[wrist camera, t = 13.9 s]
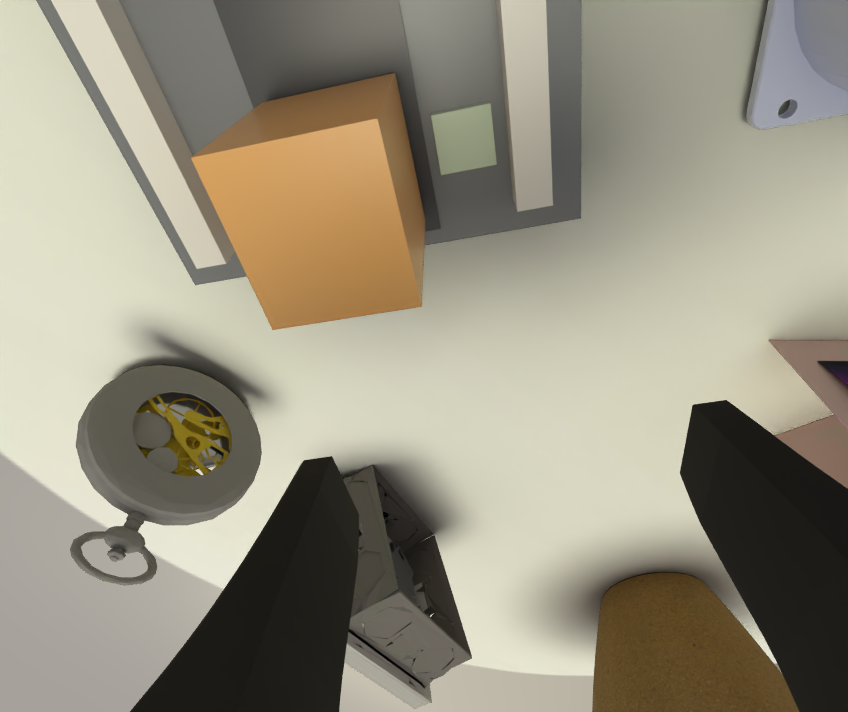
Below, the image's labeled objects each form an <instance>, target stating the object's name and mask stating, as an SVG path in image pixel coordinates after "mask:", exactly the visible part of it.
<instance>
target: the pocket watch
mask: <svg viewBox="0 0 848 712" xmlns="http://www.w3.org/2000/svg"><path fill="white" fill-rule="evenodd" d="M76 448H77V452H78V455H79V459H80V463H81V467H82V469H83V471H84V473H85V474H86V476H87V478H88V479H89V481H90V483H91V484H92V486H93V488H94V489H95V490H96V491H97V492H98V493H99V494H101V495H102V496H103V497H104V498H105V499H106V500H107V501H108V502H109V503H110V504H111V505H113V506H114V507H116V508H118V509H120V510H121V511H123V512H125V513H127V514H129V515H128V517H127V521H126V522H125V524H124V526H115V527H111V528H109V529H108V530H107V531H105V532H89V533H85V534H83V535H82V536H80V537H78V538H76V539H74V541H73V543H72V546H71V548H70V551H71V556H72V558H73V559H74V560H75V562H76V563H77V564H78V566H79V567H80V568H81V569H82V570H84V571H85V572H86V573H88V574H90V575H92V576H94V577H96V578H98V579H100V580H102V581H106V582H110V583H116V584H120V585H133V584H141V583H144V582H146V581H148V580H150V579H152V578H153V576H154V575H155V574H156V570H157V564H156V559H155V557H154V556H153V555H152V554H151V553H150V552H149V551H148V550H147V549H146V547H145V546H144V545H145V540H144V538H143V537H142V535H141V534H140V533H138V530H139V528H140V525H142V524H143V523H144V520H145V521H149V522H153V523H157V524H160V525H190V524H194V523H199V522H203V521H207V520H211V519H214V518H215V517H217V516H218V515H220V514H221V513H223V512H224V511H226V510H227V509H229V508H231V507H232V506H234V505H235V504H236V503H237V502H238V501H239V500H240V499H241V498H242V497H243V496H244V494H245V493H246V491H247V490H248V488H249V487H250V485H251V484H252V483H253V481H254V479H255V476H256V473H257V470H258V468H259V465H260V460H261V453H262V452H261V441H260V435H259V432H258V428H257V425H256V423H255V421H254V419H253V417H252V415H251V413H250V412H249V411H248V409H247V408H246V407H245V405H244V404H243V403H242V402H241V400H240V399H239V398H238V397H237V396H236V395H235V394H234V393H233V392H231V391H230V390H229V389H228V388H227V387H225V386H224V385H223V384H221V383H219V382H218V381H216V380H214V379H213V378H211V377H209V376H206V375H204V374H202V373H199V372H197V371H193V370H189V369H185V368H181V367H174V366H166V365H155V366H143V367H138V368H135V369H133V370H130V371H127V372H125V373H124V374H122V375H121V376H119V377H118V378H116V379H115V380H113V381H111V382H110V383H108V384H106V385H104V387H103V388H102V389H101V390H100V391H99V392H98V393H97V394H96V395H95V396H94V398H93V399H92V400H91V401H90V402H89V404H88V406H87V407H86V409H85V411H84V413H83V415H82V417H81V419H80V421H79V424H78V432H77V440H76ZM214 466H216V467H215V468H214V469H213V470H212V471H211V470H210V469H208V468H209V467H214ZM192 468H193V469H192ZM196 469H200V470H201V472H202V473H203V474H204V475H200V474H199V473H197V472H196ZM103 538H104V540H105V542H106V544H107V545H109V546H110V547H111V548H113V549H111V550H110V551H108V553H107V555H108V556H109V557H110V559H111V560H112V561H117V560H122V559H123V558H124V557H125V556H126V555H125V553H133V552H140V553H141V554H143V556H144V558H145V560H146V561H147V564H148V570H147V572H145V573H144V574H142V575H140V576H137V577H133V578H121V577H117V576H113V575H109V574H106V573H103V572H102V571H100V570H98V569H96V568H94V567H93V566H91V564H90V563H89V562H88V561H87V560H86V559H85V557H84V556H83V554H82V550H81V546H82V545H83V544H84V543H85V542H87V541H90V540H92V539H103Z"/></svg>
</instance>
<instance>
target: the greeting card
mask: <svg viewBox="0 0 848 712" xmlns="http://www.w3.org/2000/svg"><path fill="white" fill-rule="evenodd" d="M769 342H770V343H771V344H772V345H773V346H774V347H775V348H776V350H777V351H778V352H779V353H780V354H781V355H782V356H783V357H784V359H785V360H786V361H787V362H788V363H789V364H790V365H791V366H792V368H793V369H794V370H795V371H796V372H797V373H798V374H799V375H800V376H801V378H802V379H803V380H804V381H805V382H806V383H807V384H808V385H809V387H810V388H811V389H812V390H813V391H814V392H815V393H816V394H817V396H818V397H819V398H820V399H821V400H822V401H823V402H824V403H825V405H826V406H827V407H828V408H829V409H830V410H831V411H832V412H833V413H834V415H832V416H830V417H827V418H824V419H821V420H818V421H815V422H812V423H810V424H807V425H804V426H801V427H798V428H795V429H793V430H790V431H787V432H784V433H781V434H778V435H776V436H775V437H777V438H778V439H779V440H781V441H782V442H783V443H785V444H786V445H788V446H789V447H790V448H792V449H793V450H794V451H796V452H797V453H798V454H800V455H801V456H802V457H804V458H805V459H807V460H808V461H809V462H811V463H812V464H814V465H815V466H816V467H818V468H819V469H821V470H822V471H823V472H825V473H826V474H828V475H829V476H831V477H832V478H833V479H835V480H836V481H838V482H839V483H841V484H842V485H843V486H845V487H846V488H848V340H769Z"/></svg>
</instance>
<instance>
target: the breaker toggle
mask: <svg viewBox="0 0 848 712" xmlns="http://www.w3.org/2000/svg"><path fill="white" fill-rule="evenodd" d="M191 159H192V162H193V164H194V166H195V168H196V170H197V172H198V174H199V176H200V178H201V180H202V183H203V185H204V187H205V189H206V191H207V193H208V195H209V197H210V199H211V201H212V204H213V206H214V208H215V210H216V212H217V214H218V216H219V218H220V220H221V222H222V225H223V227H224V229H225V231H226V233H227V235H228V237H229V239H230V241H231V243H232V246H233V248H234V250H235V252H236V254H237V256H238V258H239V260H240V262H241V264H242V266H243V269H244V271H245V273H246V275H247V277H248V279H249V281H250V283H251V285H252V287H253V290H254V292H255V294H256V296H257V298H258V300H259V302H260V304H261V306H262V308H263V311H264V313H265V315H266V317H267V319H268V321H269V323H270V325H271V327H272V329H273V330H275V329H281V328H288V327H294V326H301V325H307V324H313V323H320V322H326V321H333V320H339V319H345V318H352V317H358V316H365V315H371V314H377V313H384V312H390V311H397V310H403V309H409V308H416V307H422V290H423V266H424V242H425V216H424V211H423V206H422V202H421V197H420V192H419V187H418V182H417V177H416V172H415V167H414V162H413V157H412V153H411V148H410V143H409V138H408V133H407V128H406V123H405V118H404V113H403V108H402V103H401V99H400V94H399V89H398V84H397V79H396V74H395V73H392V74H387V75H383V76H378V77H374V78H369V79H365V80H360V81H356V82H351V83H347V84H343V85H338V86H334V87H329V88H325V89H320V90H316V91H311V92H307V93H302V94H298V95H293V96H289V97H285V98H280V99H276V100H271V101H267V102H262V103H261V104H260V105H259V106H257V107H256V108H255V109H253V110H252V111H251V112H249V113H248V114H247V115H246V116H244V117H243V118H242V119H240V120H239V121H238V122H237V123H235V124H234V125H233V126H231V127H230V128H229V129H228V130H226V131H225V132H224V133H222V134H221V135H220V136H218V137H217V138H216V139H215V140H213V141H212V142H211V143H209V144H208V145H207V146H206V147H204V148H203V149H202V150H200V151H199V152H198V153H197V154H195V155H194V156H193V157H191Z"/></svg>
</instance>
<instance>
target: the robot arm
mask: <svg viewBox="0 0 848 712" xmlns="http://www.w3.org/2000/svg"><path fill="white" fill-rule="evenodd" d="M788 100H790V105H789V107H788V109H787V110H786V111H785V112H784V113H783V114H781V115H779V116H778V110H779V108H780V106H781V105H782V104H783V103H784V102H785V101H788ZM845 114H848V0H769V1H768V6H767V11H766V16H765V21H764V27H763V32H762V37H761V42H760V47H759V52H758V57H757V62H756V67H755V73H754V78H753V83H752V88H751V93H750V98H749V103H748V108H747V121H748V123H749V125H751V126H753V127H755V128H757V129H761V130H765V129H771V128H776V127H781V126H787V125H792V124H797V123H803V122H808V121H813V120H819V119H824V118H829V117H835V116H840V115H845ZM680 475H681V477H682V480H683V482H684V485H685V487H686V490H687V492H688V495H689V497H690V500H691V502H692V505H693V507H694V509H695V512H696V514H697V516H698V519H699V521H700V523H701V525H702V527H703V529H704V531H705V532H706V534H707V536H708V538H709V540H710V542H711V543H712V545H713V547H714V549H715V551H716V552H717V554H718V556H719V558H720V560H721V561H722V563H723V565H724V567H725V569H726V570H727V572H728V574H729V576H730V578H731V579H732V581H733V583H734V585H735V586H736V588H737V590H738V592H739V594H740V595H741V597H742V599H743V601H744V602H745V604H746V606H747V608H748V610H749V611H750V613H751V615H752V617H753V618H754V620H755V622H756V624H757V626H758V627H759V629H760V631H761V633H762V634H763V636H764V638H765V640H766V642H767V644H768V646H769V648H770V650H771V652H772V654H773V656H774V658H775V659H776V661H777V663H778V665H779V667H780V670H781V672H782V674H783V676H784V679H785V681H786V683H787V685H788V687H789V690H790V692H791V694H792V696H793V699H794V701H795V703H796V705H797V707H798V710H799V712H848V488H846V487H845V486H843V485H842V484H841V483H839V482H838V481H836V480H835V479H833V478H832V477H831V476H829V475H828V474H826V473H825V472H823V471H822V470H821V469H819V468H818V467H816V466H815V465H814V464H812V463H811V462H809V461H808V460H807V459H805V458H804V457H802V456H801V455H800V454H798V453H797V452H796V451H794V450H793V449H792V448H790V447H789V446H788V445H786V444H785V443H783V442H782V441H781V440H779V439H778V438H777V437H775V436H774V435H773V434H771V433H770V432H769V431H767V430H766V429H765V428H763V427H762V426H761V425H759V424H758V423H757V422H755V421H754V420H753V419H751V418H750V417H748V416H747V415H746V414H744V413H743V412H742V411H740V410H739V409H738V408H736V407H735V406H734V405H732V404H731V403H730V402H728V401H727V400H723V401H716V402H709V403H702V404H695V405H693V406H692V412H691V417H690V422H689V428H688V433H687V438H686V444H685V449H684V454H683V459H682V465H681V470H680ZM358 546H359V513H358V511H357V509H356V507H355V505H354V503H353V500H352V498H351V496H350V494H349V492H348V490H347V487H346V485H345V483H344V481H343V479H342V477H341V475H340V472H339V470H338V468H337V466H336V464H335V462H334V460H333V457H332V456H331V457H324V458H317V459H310V460H304V461H303V463H302V464H301V465H300V467H299V469H298V470H297V472H296V474H295V476H294V477H293V479H292V481H291V482H290V484H289V486H288V488H287V489H286V491H285V493H284V495H283V496H282V498H281V500H280V501H279V503H278V505H277V506H276V508H275V510H274V512H273V513H272V515H271V517H270V518H269V520H268V522H267V523H266V525H265V527H264V528H263V530H262V531H261V533H260V535H259V536H258V538H257V539H256V541H255V543H254V544H253V546H252V547H251V549H250V551H249V552H248V554H247V555H246V557H245V559H244V560H243V562H242V563H241V565H240V566H239V568H238V569H237V571H236V572H235V574H234V575H233V577H232V578H231V580H230V581H229V583H228V584H227V586H226V587H225V588H224V590H223V591H222V593H221V594H220V596H219V597H218V599H217V600H216V602H215V603H214V605H213V606H212V608H211V609H210V611H209V612H208V613H207V615H206V616H205V617H204V619H203V620H202V621H201V623H200V624H199V626H198V627H197V628H196V630H195V631H194V632H193V634H192V635H191V637H190V638H189V639H188V640H187V642H186V643H185V644H184V646H183V647H182V648H181V650H180V651H179V652H178V653H177V655H176V656H175V657H174V659H173V660H172V661H171V662H170V664H169V665H168V666H167V668H166V669H165V670H164V671H163V672H162V674H161V675H160V676H159V678H158V679H157V680H156V681H155V682H154V683H153V685H152V686H151V687H150V688H149V689H148V691H147V692H146V693H145V694H144V695H143V697H142V698H141V699H140V700H139V701H138V703H137V704H136V705H135V706H134V708H133V709H132V710H131V711H130V712H339V705H340V693H341V684H342V675H343V668H344V661H345V654H346V647H347V639H348V632H349V625H350V618H351V611H352V604H353V597H354V589H355V582H356V574H357V566H358Z"/></svg>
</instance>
